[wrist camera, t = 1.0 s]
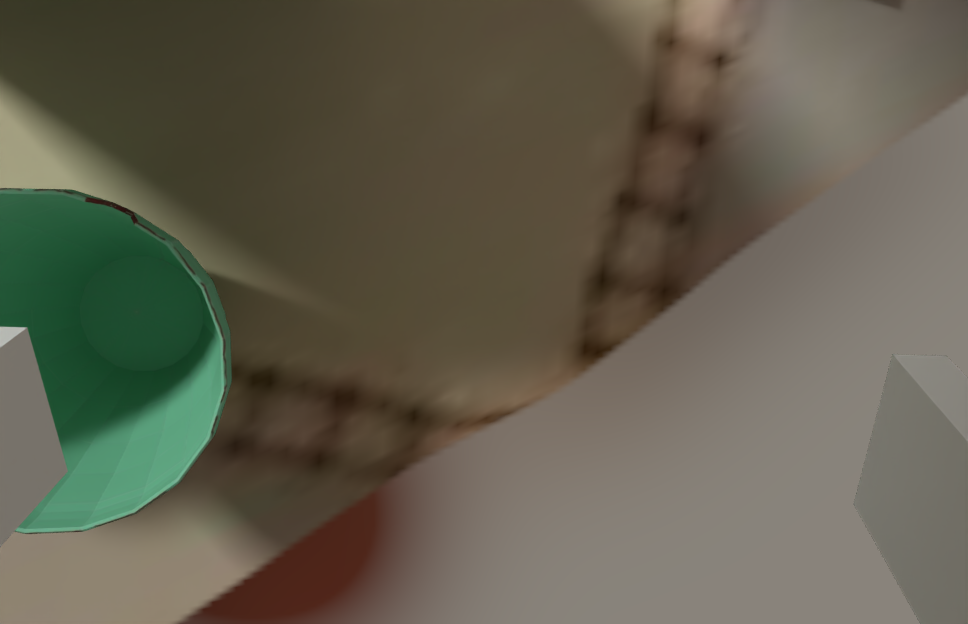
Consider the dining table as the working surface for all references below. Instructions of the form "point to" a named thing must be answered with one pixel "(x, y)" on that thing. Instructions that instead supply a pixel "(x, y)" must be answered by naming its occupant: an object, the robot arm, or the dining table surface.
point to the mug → (112, 349)
